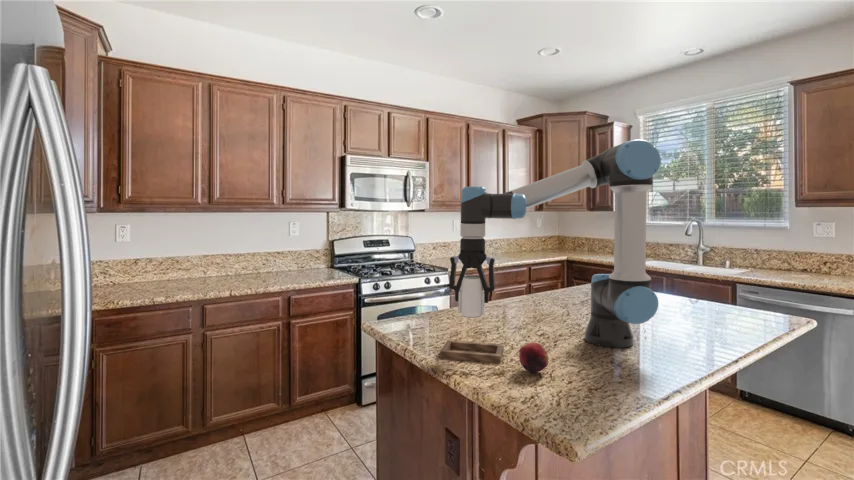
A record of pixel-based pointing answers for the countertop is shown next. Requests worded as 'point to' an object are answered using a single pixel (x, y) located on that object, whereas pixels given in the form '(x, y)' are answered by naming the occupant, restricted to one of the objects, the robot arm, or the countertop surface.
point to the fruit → (533, 357)
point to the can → (471, 296)
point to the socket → (472, 356)
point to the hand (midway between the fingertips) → (471, 312)
